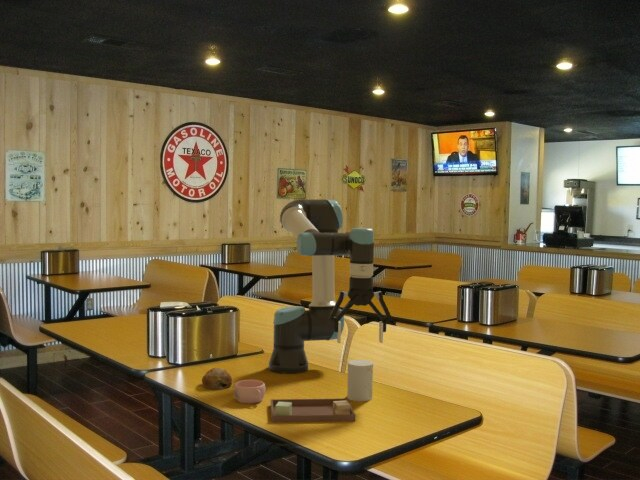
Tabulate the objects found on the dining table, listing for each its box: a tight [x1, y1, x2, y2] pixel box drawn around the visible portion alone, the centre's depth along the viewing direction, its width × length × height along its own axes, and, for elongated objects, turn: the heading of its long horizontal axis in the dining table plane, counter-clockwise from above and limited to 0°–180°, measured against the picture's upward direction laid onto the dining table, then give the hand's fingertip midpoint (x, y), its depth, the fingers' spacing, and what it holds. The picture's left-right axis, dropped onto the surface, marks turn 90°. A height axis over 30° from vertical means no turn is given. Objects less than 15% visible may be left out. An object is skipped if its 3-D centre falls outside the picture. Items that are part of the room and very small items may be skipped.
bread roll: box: [201, 367, 233, 390], centre depth 229 cm, size 10×10×8 cm
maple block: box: [333, 400, 351, 414], centre depth 196 cm, size 4×4×4 cm
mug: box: [233, 379, 267, 405], centre depth 210 cm, size 12×10×6 cm
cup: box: [346, 359, 374, 402], centre depth 215 cm, size 8×8×12 cm
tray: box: [270, 398, 356, 423], centre depth 199 cm, size 16×24×2 cm, turn 96°
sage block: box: [275, 402, 292, 415], centre depth 194 cm, size 4×4×4 cm
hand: (359, 342), depth 214 cm, fingers open, 13 cm apart
